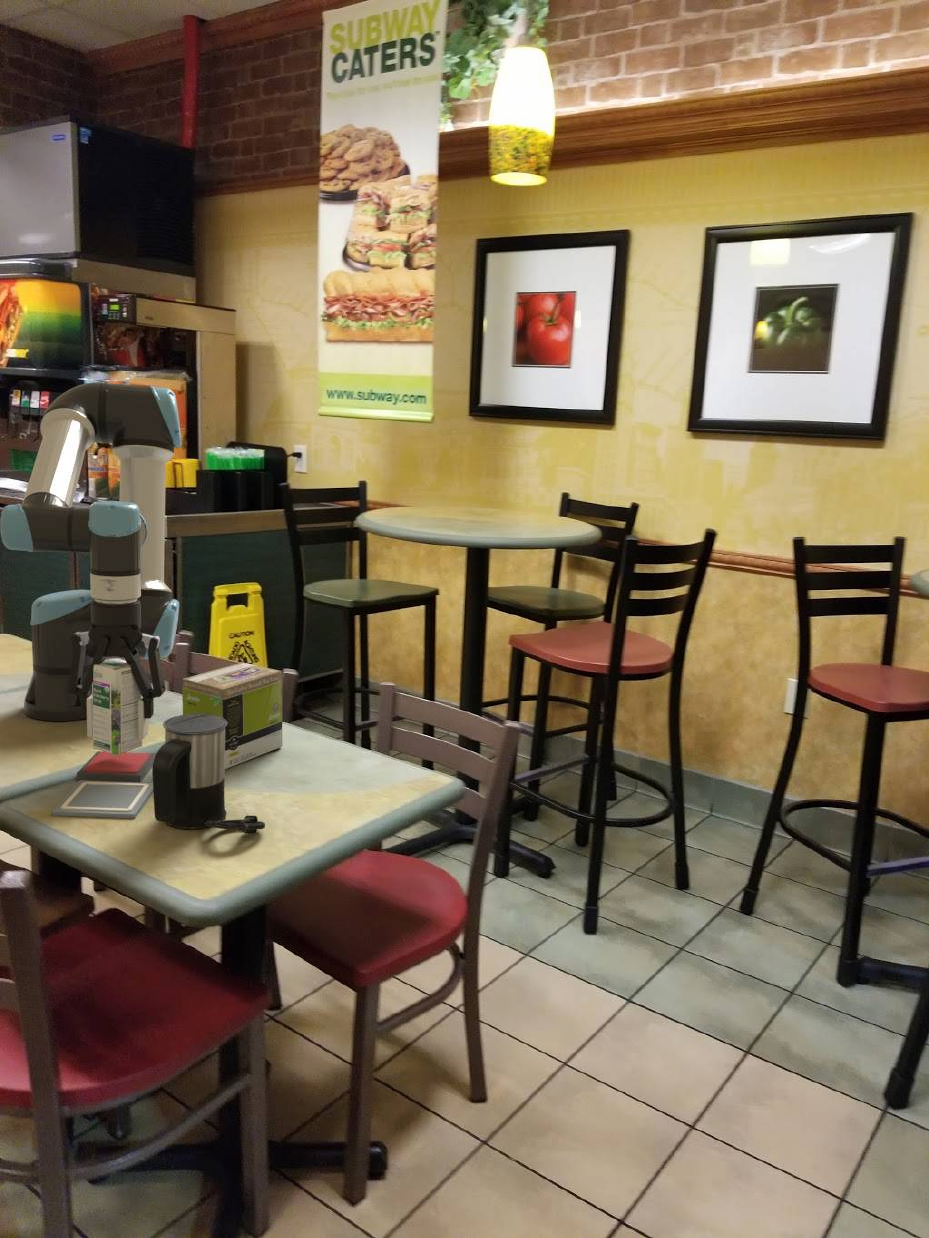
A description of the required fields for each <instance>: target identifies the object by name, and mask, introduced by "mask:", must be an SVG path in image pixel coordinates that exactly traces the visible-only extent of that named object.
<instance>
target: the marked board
mask: <svg viewBox="0 0 929 1238" xmlns="http://www.w3.org/2000/svg"><path fill="white" fill-rule="evenodd" d="M152 795H153V782H115V781H88V780H78V782H77V783H76V784H75V785H74V786H73V787H72V788H71V790H70V791H69V792H68V793H67V794H65V796H64V797H63V798H62V799H61V800H60V801H59V802H58V804H56V806H55V807H54V808H53V809H52V810H51V813H50V816H55V817H56V816H60V817H61V816H62V817H63V816H64V817H88V818H89V817H91V818H112V819H113V818H118V819H119V818H121V819H136V817H137V816H138V815H139V813H140V812H141V810H142V809H143V808H144V806H145V805H146V803H147V802H148V800H149V799H150V797H152Z"/></svg>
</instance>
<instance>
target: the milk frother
mask: <svg viewBox="0 0 929 1238" xmlns="http://www.w3.org/2000/svg"><path fill="white" fill-rule="evenodd" d="M162 726H163V729H165V731H164V732H165V733H164V734H165V735H164V736H165V737H164V740H165V741H164V742H165V743H164V744H163V745H161V746H160V747H159V749H158V750H157V752H156V753H155V754H156V756H155V758H154V762H153V766H152V768H151V769H152V770H151V771H152V772H151V773H152V775H151V776H152V783H153V793H152V795H153V807H154V809H153V810H154V811H153V812H154V819H155V820H156V821H159V822H161V823H165V824H166V825H168V826H170V827H174V828H177V829H185V830H193V829H194V830H197V829H205V828H209V827H210V828H214V829H221V830H222V829H223V830H238V831H242V832H243V833H244V834H246V835H250V834H251V835H255V834H256V833H257V832H258V830H263V829H265V827H266V824H265V823H266V822H263V821H258V820H259V819H258V816H256V815H248V814H247V815H245V816H244V818H243V819H226V817H227V811H226V809H225V808H226V806H225V770H226V769H225V727H226V726H227V721H226V720H225V719H223V718H221V717H218V716H215V715H208V714H186V715H183V714H180V715H175V716H173V717H172V716H171V717H170V718H167V719H166V720H164V722H163V723H162Z"/></svg>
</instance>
